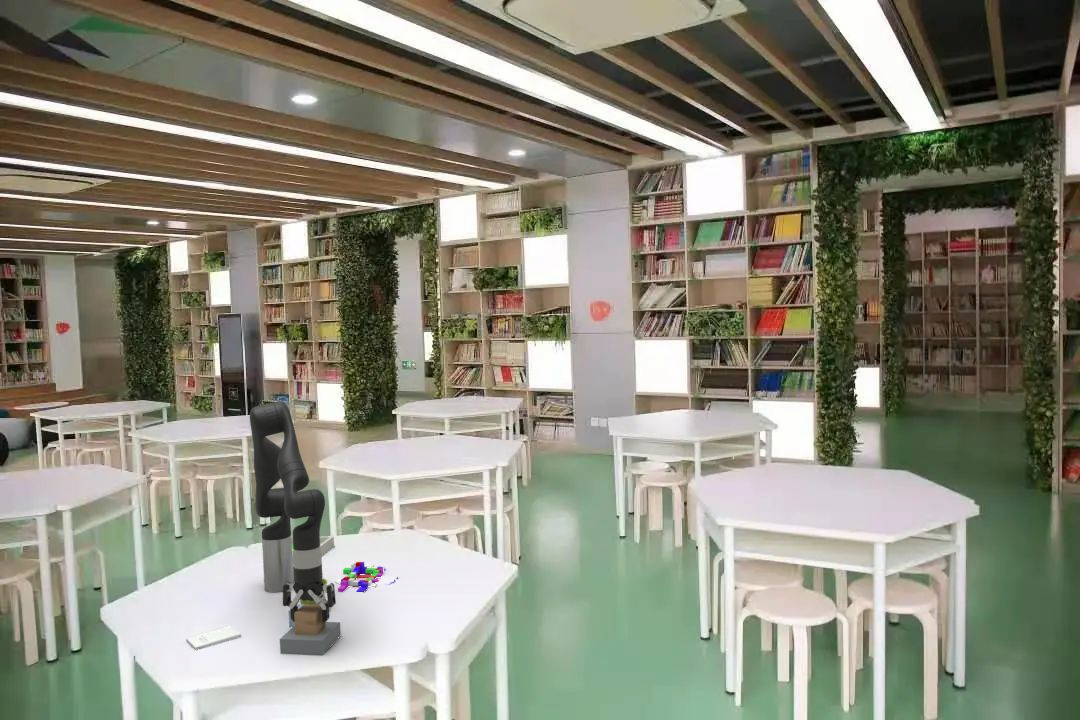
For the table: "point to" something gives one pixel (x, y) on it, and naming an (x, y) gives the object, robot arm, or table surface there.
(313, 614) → the walnut cube
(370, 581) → the building block set
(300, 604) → the blue cube
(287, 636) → the base plinth
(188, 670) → the table surface
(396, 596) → the table surface
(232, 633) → the external hard drive
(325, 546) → the corral
